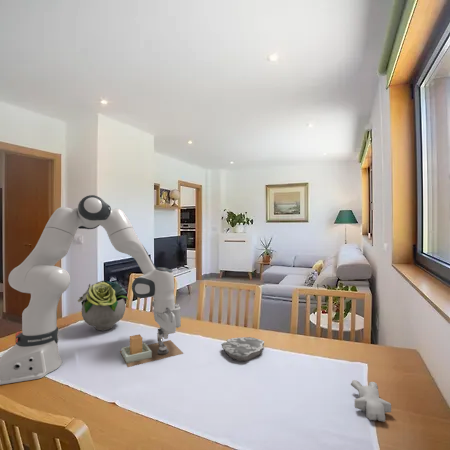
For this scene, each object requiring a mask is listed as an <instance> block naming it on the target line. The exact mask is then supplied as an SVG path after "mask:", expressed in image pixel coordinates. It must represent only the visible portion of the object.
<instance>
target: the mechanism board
mask: <svg viewBox="0 0 450 450" xmlns="http://www.w3.org/2000/svg"><path fill="white" fill-rule="evenodd" d="M163 343H164V345H165V346H167V350H166V351H164V352H161V351H159V345H158V342H155V343H150V344H147V346H148V347H149V348H150V350H151V351H152V358H147V359H143V360H139V361H135V362H131V363H127V364H126V362H125V360H124V358H123V356H122V350H119V353H120V354H121V358H122V359H123V360H124V363H125V365H126V366H127V368H131V367H134V366H139V365H143V364H146V363H151V362H155V361H159V360H160V361H161V360H163V359H167V358H172V357H175V356H180V355H183V354H185V353H184V352H183V351H182V350H181V349H180V348H179V347H178V346H177V345H176V344H175V343H174V342H173V341H172V340H164V341H163Z"/></svg>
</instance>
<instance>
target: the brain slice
mask: <svg viewBox="0 0 450 450" xmlns="http://www.w3.org/2000/svg"><path fill="white" fill-rule="evenodd" d="M220 345H221V348H222V350H223V351H225V353H226V354H227V356H228V357H230V358H231V359H234V360H237V361H239V362H248V361H249V360H250V361H251V360H252V359H255V358H256V357H258V356H260V354H262V352H263V349H264V346H265V341H264V340H262V339H260V338H256V337H252V336H249V337H248V336H246V337H244V336H243V337H231V338H228V339H226V342H225V341H224V342H223V343H221V344H220Z"/></svg>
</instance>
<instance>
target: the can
mask: <svg viewBox="0 0 450 450" xmlns="http://www.w3.org/2000/svg"><path fill="white" fill-rule="evenodd" d="M172 313H173V314H174V315H175V322H176V329H177V328H178V329H179V328H181V326H182V325H181V324H182V323H181V322H182V320H181V319H182V318H181V316H182V314H181V313H182V312H181V306H180V304H179V303H175V309H174V310H172Z"/></svg>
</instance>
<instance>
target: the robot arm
mask: <svg viewBox="0 0 450 450" xmlns="http://www.w3.org/2000/svg"><path fill="white" fill-rule="evenodd" d="M99 226H100V227H102V228H103V229H104V230H105V232H106V234H107V237H108V239H109V242H110V243H111V245H112V247H113V248H114V249H115V250H116V251H117V252H120V253H122V254H125V255H128V256H131V258H133V259H134V260H135V261H136V263H137V265H138V267H139V269H140V271H141V272H142V275H139V276H138V277H137V278H134V280H133V281H132V283H131V290H132V293H133V295H134V297H137V298H139V299H147V298H151V297H152V298H153V301H152V302H151V305H152V307H153V309H152V310H153V318H154V319H153V320H154V321H155V323H156V324H158V326H159V327H160V328H159V329H161V330H162V333H163V340H164V339H165V340H167V339H169V335H172V334H175V333H176V332H177V328H176V322H175V315H174V314H173V313H172V310H174V309H175V304H176V303H175V294H174V291H175V278H174V273H173V271H172V270H171V269H170V268H168V267H164V266H163V267H162V266H161V267H159V266H158V267H157V266H156V265H155V264H154V261H153V260H152V258H151V256H150V255H149V253H148V251H147V249H146V247H145V246H144V245H143V243H142V242H141V240H140V239H139V237H138V235H137V233H136V231H135V229H134V227H133V225H132V222H131V221H130V219H129V218H128V216H127V215H126V214H125V212H124V210H122V209H119V208H111V206H110V204H108V203H107V202H105V200H104V199H102V198H101V197H100V196H97V195H95V194H90V195H86V196H84V197H83V198H81V200H80V201H79V202H78V204H77V207H76V208H70V207H67V206H60V207H58V208H57V209H55V211H53V213H52V214H51V216H50V217H49V219H48V221H47V223H46V224H45V227H44V229H43V231H42V233H41V235H40V237H39V239H38V240H37V243H36V244H35V247H34V248H33V250H32V251H31V252H30V253H29V255H27V257H26V258H25V259H24V260H23V261H22V262H21V263H20V264H19V265H18V266H16V267H14V268H12V270H11V271H10V272H9V274H8V277H7V278H8V279H7V281H8V284H9V286H10V287H11V288H12V289H14V290H16V291H18V292H20V293H24V294H30V299H29V303H28V306H27V307H26V308H24V310H23V311H22V314H21V316H22V317H21V319H22V320H21V324H22V325H21V326H22V327H21V328H22V329H21V331H17V332H16V333H15V335H14V336H15V344H14V345H13V346H12V347H10V349H8V350H7V351H6V352H4V353H3V354H2V355H1V356H0V385H8V384H12V383H21V382H26V381H31V380H38V379H41V378H44V377H45V376H46V375H47V374H50V373H51V372H53V371H55V370H57V369H58V368H60V367H61V366H62V364H63V361H62V359H61V354H60V351H59V345H58V344H59V335H60V334H59V327H58V325H57V324H58V323H57V321H58V319H57V313H58V306H59V305H58V304H59V301H60V299H61V297H62V295H63V294H64V293H65V292H66V291H67V290H68V288H69V286H70V284H71V276H70V273H69V272H68V271H67V270H66V269H65V268H62V267H60V266H56V264H57V263H58V262H60V260H61V259H63V258H65V257H66V256H67V255H68V252H69V250H70V249H71V245H72V243H73V240H74V237H75V235H76V233H77V231H78V230H79V229H84V230H94V229H97V228H98V227H99Z"/></svg>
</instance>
